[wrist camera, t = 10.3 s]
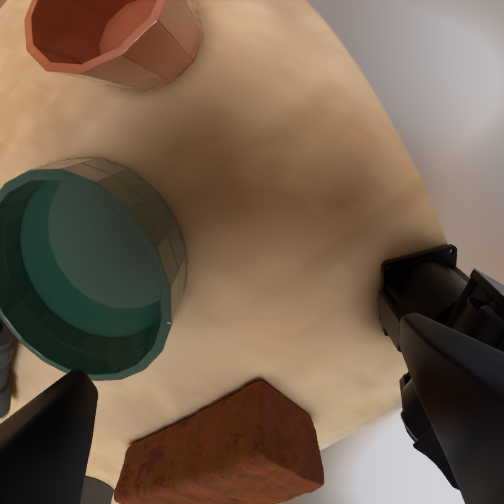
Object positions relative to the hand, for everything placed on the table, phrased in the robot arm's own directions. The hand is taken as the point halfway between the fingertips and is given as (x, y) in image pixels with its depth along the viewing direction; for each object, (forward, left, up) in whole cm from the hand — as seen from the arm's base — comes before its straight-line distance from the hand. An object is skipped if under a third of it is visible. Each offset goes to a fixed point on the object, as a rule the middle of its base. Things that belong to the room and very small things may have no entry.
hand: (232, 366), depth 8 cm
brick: (+8, +21, -13) cm, 26 cm away
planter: (+11, 0, -13) cm, 17 cm away
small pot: (+3, -13, -13) cm, 19 cm away
